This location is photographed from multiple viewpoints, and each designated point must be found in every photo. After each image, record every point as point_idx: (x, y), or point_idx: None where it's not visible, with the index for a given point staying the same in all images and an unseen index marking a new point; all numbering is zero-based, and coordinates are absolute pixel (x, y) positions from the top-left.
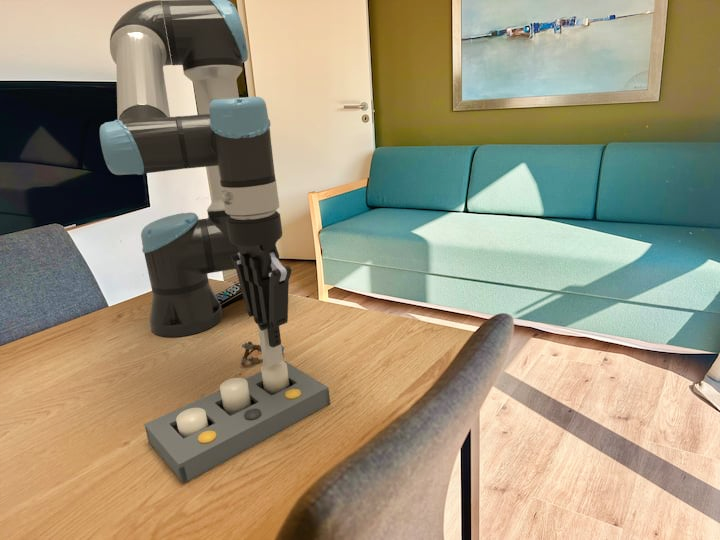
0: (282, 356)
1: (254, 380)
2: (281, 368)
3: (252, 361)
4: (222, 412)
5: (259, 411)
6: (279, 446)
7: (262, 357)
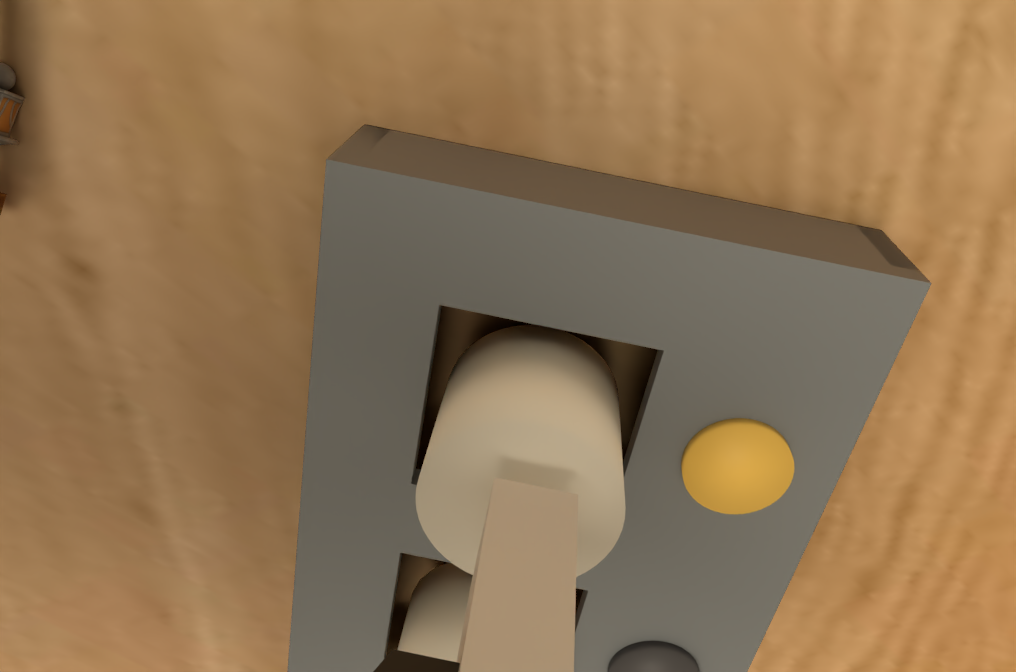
0: (575, 523)
1: (369, 457)
2: (595, 502)
3: (2, 142)
4: None
5: (675, 659)
6: (822, 603)
7: (461, 635)
